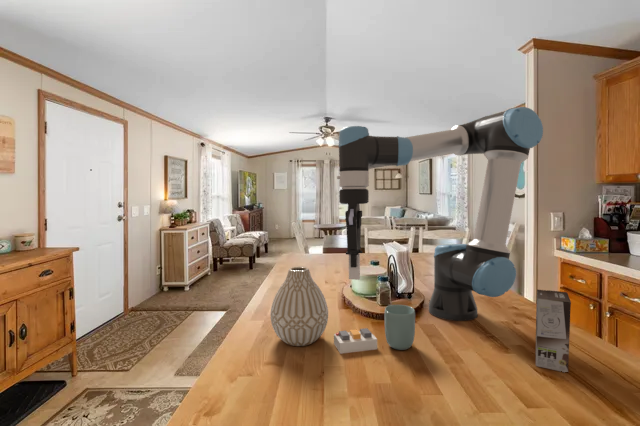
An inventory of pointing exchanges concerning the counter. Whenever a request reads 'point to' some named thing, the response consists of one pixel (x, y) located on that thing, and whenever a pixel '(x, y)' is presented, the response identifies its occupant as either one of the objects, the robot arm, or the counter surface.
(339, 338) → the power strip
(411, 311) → the cup
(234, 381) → the counter surface
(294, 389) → the counter surface
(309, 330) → the vase
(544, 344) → the coffee box
